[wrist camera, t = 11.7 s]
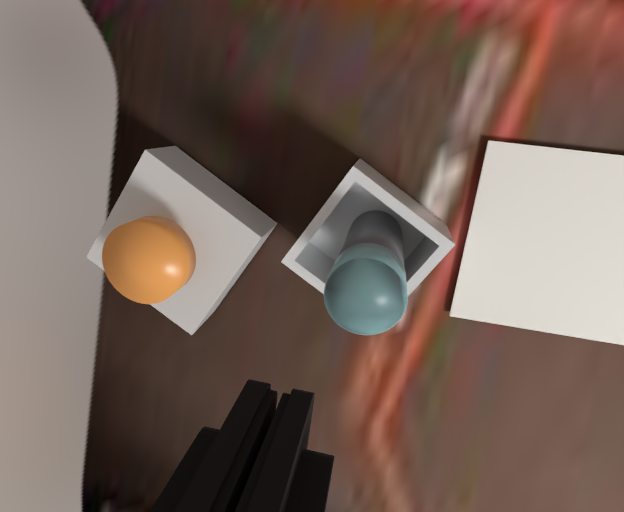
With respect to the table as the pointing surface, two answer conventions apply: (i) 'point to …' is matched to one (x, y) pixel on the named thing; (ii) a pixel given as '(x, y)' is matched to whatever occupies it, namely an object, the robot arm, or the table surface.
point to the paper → (546, 243)
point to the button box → (192, 228)
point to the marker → (368, 276)
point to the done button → (148, 259)
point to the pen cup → (355, 201)
